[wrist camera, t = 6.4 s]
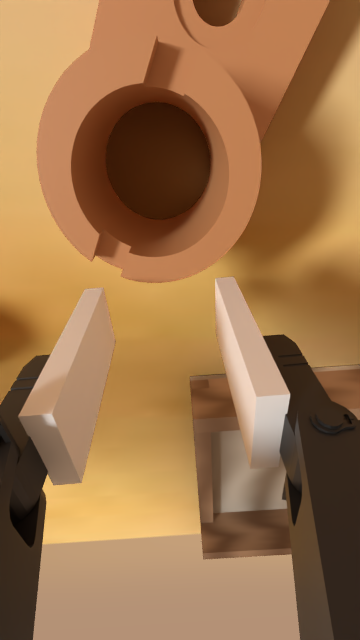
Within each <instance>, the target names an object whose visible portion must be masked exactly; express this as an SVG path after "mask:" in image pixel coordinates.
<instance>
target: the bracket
mask: <svg viewBox="0 0 360 640" xmlns="http://www.w3.org/2000/svg"><path fill="white" fill-rule="evenodd" d="M329 2H330V0H242V2H241V5H240V7H239V10H238V13H237V15H236V18H235V19H234V20H233V21H232V22H230V23H229V24H227V25H224V26H220V27H215V26H211V25H209V24H207V23H205V22H204V21H203V20H202V19H201V18H200V16H199V15H198V13H197V11H196V9H195V7H194V3H193V0H99V5H98V9H97V14H96V19H95V24H94V29H93V34H92V39H91V44H90V48H89V50H88V51H86V52H85V53H83V54H82V55H81V56H80V57H79V58H77V59H76V60H75V61H74V62H73V63H72V64H71V65H70V66H69V67H68V68H67V69H66V70H65V71H64V73H63V74H62V76H61V77H60V78H59V80H58V81H57V82H56V84H55V86H54V88H53V89H52V91H51V93H50V95H49V97H48V100H47V102H46V105H45V107H44V110H43V113H42V117H41V120H40V125H39V131H38V137H37V166H38V173H39V180H40V184H41V188H42V192H43V195H44V197H45V200H46V203H47V206H48V208H49V210H50V212H51V214H52V216H53V218H54V220H55V222H56V223H57V225H58V227H59V228H60V230H61V231H62V232H63V234H64V235H65V237H66V238H67V239H68V240H69V241H70V243H71V244H72V245H73V246H74V247H75V248H76V249H77V250H78V251H79V252H80V253H81V254H82V255H84V256H85V257H86V258H87V259H88V260H90V261H91V262H92V260H93V259H94V257H95V256H98V257H99V258H100V259H102V260H104V261H105V262H107V263H109V264H111V265H113V266H116V267H118V268H121V269H123V271H122V274H121V277H123V278H126V279H129V280H134V281H138V282H147V283H162V282H171V281H176V280H180V279H184V278H187V277H190V276H192V275H195V274H197V273H199V272H201V271H203V270H205V269H206V268H208V267H209V266H211V265H212V264H214V263H215V262H217V261H218V260H219V259H220V258H221V257H223V256H224V255H225V254H226V253H227V252H228V251H229V250H230V249H231V248H232V246H233V245H234V244H235V243H236V241H237V240H238V239H239V237H240V236H241V234H242V233H243V231H244V229H245V228H246V226H247V224H248V222H249V220H250V218H251V215H252V213H253V210H254V208H255V204H256V201H257V198H258V193H259V188H260V181H261V171H262V158H261V147H260V143H261V141H262V139H263V137H264V135H265V133H266V131H267V129H268V127H269V125H270V123H271V121H272V119H273V117H274V114H275V112H276V110H277V108H278V106H279V104H280V102H281V100H282V98H283V96H284V94H285V92H286V90H287V88H288V86H289V84H290V82H291V80H292V78H293V75H294V73H295V71H296V69H297V67H298V65H299V63H300V61H301V59H302V57H303V55H304V53H305V51H306V49H307V47H308V45H309V43H310V41H311V39H312V36H313V34H314V32H315V30H316V28H317V26H318V24H319V22H320V20H321V18H322V16H323V14H324V12H325V10H326V8H327V6H328V4H329ZM149 102H163V103H168V104H171V105H174V106H176V107H179V108H180V109H182V110H184V111H185V112H186V113H188V114H189V115H190V116H191V117H192V118H193V119H194V120H195V121H196V122H197V124H198V125H199V127H200V128H201V130H202V132H203V134H204V135H205V138H206V140H207V144H208V147H209V152H210V174H209V178H208V182H207V185H206V187H205V190H204V192H203V193H202V195H201V197H200V198H199V200H198V201H197V202H196V203H195V204H194V205H193V206H192V207H191V208H190V209H189V210H187V211H186V212H184V213H183V214H181V215H179V216H176V217H173V218H169V219H151V218H147V217H144V216H141V215H139V214H137V213H135V212H133V211H132V210H131V209H129V208H128V207H127V206H126V205H125V204H124V203H123V202H122V201H121V200H120V199H119V198H118V196H117V195H116V193H115V191H114V190H113V188H112V186H111V183H110V181H109V178H108V174H107V169H106V149H107V143H108V140H109V137H110V134H111V132H112V130H113V128H114V126H115V125H116V123H117V122H118V121H119V119H120V118H121V117H122V116H123V115H124V114H125V113H127V112H128V111H129V110H131V109H132V108H134V107H136V106H138V105H141V104H144V103H149Z"/></svg>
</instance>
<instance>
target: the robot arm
mask: <svg viewBox="0 0 360 640" xmlns="http://www.w3.org/2000/svg"><path fill="white" fill-rule="evenodd" d="M215 299H216V336H217V340H218V343H219V347H220V351H221V355H222V359H223V363H224V367H225V371H226V375H227V379H228V383H229V387H230V391H231V395H232V399H233V403H234V406H235V410H236V414H237V418H238V422H239V426H240V430H241V434H242V438H243V442H244V446H245V450H246V454H247V458H248V462H249V466H250V469H259V468H271V467H278V466H279V460H280V455H281V458H282V460H283V463H284V466H285V469H286V476H285V482H284V487H283V493H282V500H286V501H287V511H288V521H289V531H290V541H291V551H292V561H293V570H294V581H295V591H296V601H297V611H298V621H299V631H300V640H360V420H358V419H357V418H356V416H355V415H354V414H353V413H352V412H351V411H349V410H348V409H347V408H346V407H344V406H342V405H340V404H338V403H336V402H333V401H331V399H330V398H329V396H328V394H327V393H326V391H325V390H324V388H323V386H322V385H321V383H320V382H319V380H318V378H317V377H316V375H315V374H314V372H313V370H312V369H311V367H310V366H309V365H308V362H307V361H306V359H305V358H304V356H302V353H301V351H300V350H299V348H298V346H297V345H296V343H295V342H293V341H292V340H290V339H289V338H288V337H286V336H285V335H284V334H283V335H271V336H262V334H261V332H260V330H259V328H258V326H257V324H256V322H255V320H254V318H253V316H252V313H251V311H250V309H249V307H248V305H247V303H246V301H245V299H244V297H243V295H242V293H241V291H240V289H239V286H238V284H237V282H236V280H235V278H234V277H223V278H215ZM115 342H116V341H115V337H114V332H113V328H112V323H111V319H110V314H109V310H108V306H107V301H106V297H105V292H104V288H92V289H85V290H84V292H83V294H82V296H81V298H80V299H79V301H78V303H77V305H76V307H75V309H74V311H73V313H72V315H71V317H70V319H69V320H68V322H67V324H66V326H65V328H64V330H63V332H62V334H61V336H60V338H59V339H58V341H57V343H56V345H55V347H54V349H53V351H52V353H51V355H42V356H36V357H35V358H33V359H32V360H31V361H30V362H29V363H28V364H26V365H25V366H24V367H23V369H22V371H21V372H20V374H19V375H18V377H17V381H15V382H14V384H13V385H12V387H11V391H9V392H8V393H7V395H6V397H5V398H4V400H3V402H2V403H1V405H0V640H33V631H34V621H35V611H36V601H37V591H38V581H39V571H40V561H41V551H42V541H43V531H44V520H45V510H46V497H45V493H44V492H43V490H42V487H43V485H44V482H45V479H46V476H47V473H48V475H49V477H50V479H51V481H52V483H53V485H63V484H75V483H82V479H83V475H84V470H85V466H86V462H87V458H88V454H89V450H90V446H91V441H92V437H93V433H94V429H95V425H96V421H97V417H98V413H99V408H100V404H101V400H102V396H103V392H104V388H105V384H106V380H107V375H108V371H109V367H110V363H111V359H112V355H113V351H114V346H115Z"/></svg>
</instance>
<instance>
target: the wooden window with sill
mask: <svg viewBox="0 0 360 640" xmlns="http://www.w3.org/2000/svg"><path fill="white" fill-rule="evenodd" d="M311 369H312V370H313V372H314V374H315V375H316V377H317V378H318V380H319V382H320V383H321V385H322V386H323V388H324V390H325V391H326V393H327V394H328V396H329V398H330V399H331V401H333V402H336V403H338V404H340V405H342V406H344V407H346V408H347V409H348V410H349V411H351V412H352V413H353V414H354V415H355V416H356V418H357V419H358V420H360V365H348V366H333V367H319V368H311ZM190 387H191V401H192V415H193V428H194V441H195V454H196V468H197V481H198V495H199V508H200V522H201V535H202V549H203V559H218V558H235V557H252V556H268V555H286V554H292V551H291V541H290V531H289V521H288V511H287V501H286V500H282V493H283V487H284V482H285V476H286V469H285V466H284V463H283V460H282V458H281V455H280V460H279V466H278V467H271V468H259V469H250V466H249V462H248V458H247V454H246V450H245V446H244V442H243V438H242V434H241V430H240V426H239V422H238V418H237V414H236V410H235V406H234V403H233V399H232V395H231V391H230V387H229V383H228V379H227V375H226V374H218V375H204V376H190Z"/></svg>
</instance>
